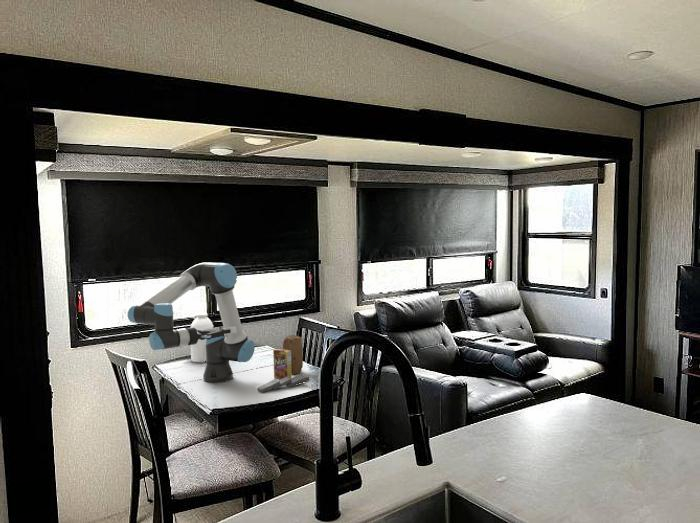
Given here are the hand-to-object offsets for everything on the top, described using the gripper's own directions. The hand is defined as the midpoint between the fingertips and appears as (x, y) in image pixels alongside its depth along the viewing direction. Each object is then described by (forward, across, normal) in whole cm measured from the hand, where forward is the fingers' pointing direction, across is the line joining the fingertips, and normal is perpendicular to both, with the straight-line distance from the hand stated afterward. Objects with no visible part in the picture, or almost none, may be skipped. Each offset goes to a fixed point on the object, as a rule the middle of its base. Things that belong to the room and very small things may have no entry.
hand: (235, 329), depth 253 cm
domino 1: (+12, 0, -31) cm, 33 cm away
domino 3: (+26, +1, -31) cm, 40 cm away
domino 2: (+18, 0, -31) cm, 36 cm away
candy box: (+32, -12, -32) cm, 47 cm away
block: (+42, -18, -32) cm, 56 cm away
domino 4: (+31, 0, -31) cm, 43 cm away
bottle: (+16, -76, -32) cm, 84 cm away
